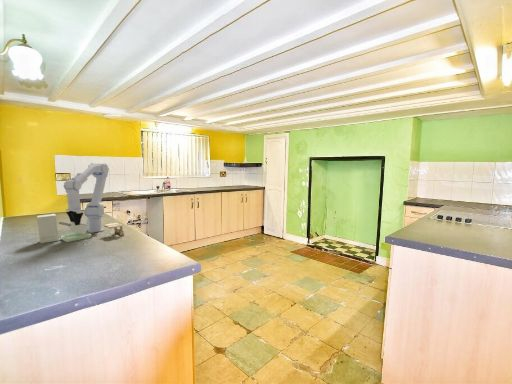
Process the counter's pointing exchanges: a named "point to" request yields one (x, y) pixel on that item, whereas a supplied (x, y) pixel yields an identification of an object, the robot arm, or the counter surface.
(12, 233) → the counter surface
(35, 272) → the counter surface
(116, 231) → the beige block
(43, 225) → the skincare box
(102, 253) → the counter surface
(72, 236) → the tray
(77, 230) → the white block with post
